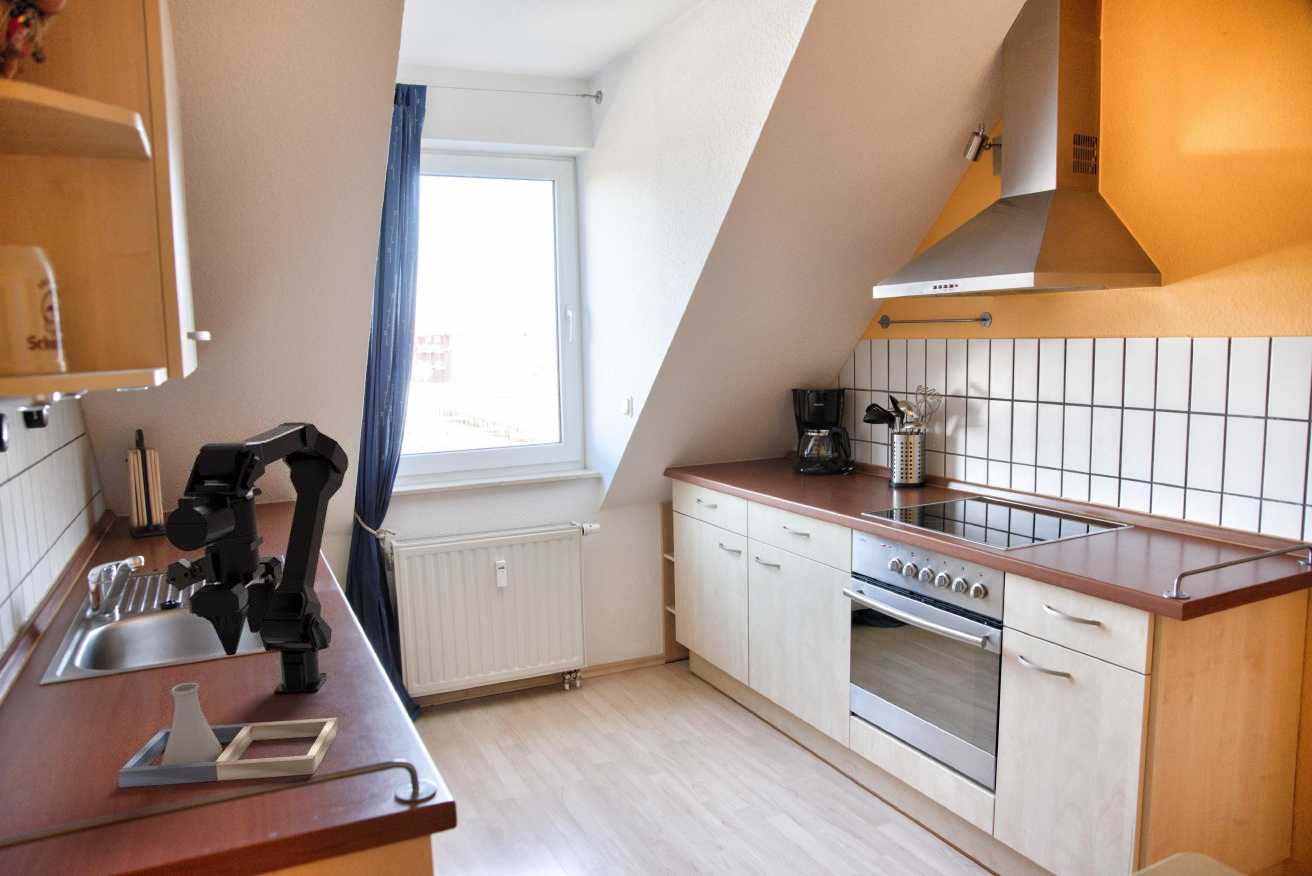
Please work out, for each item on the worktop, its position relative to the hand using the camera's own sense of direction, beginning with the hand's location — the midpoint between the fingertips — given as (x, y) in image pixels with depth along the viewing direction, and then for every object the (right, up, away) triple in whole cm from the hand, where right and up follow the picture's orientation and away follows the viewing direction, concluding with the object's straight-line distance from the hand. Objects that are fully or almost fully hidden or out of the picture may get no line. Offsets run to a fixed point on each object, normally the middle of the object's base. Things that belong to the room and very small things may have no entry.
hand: (243, 643), depth 124 cm
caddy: (+3, -13, -8) cm, 16 cm away
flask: (-3, -14, -9) cm, 16 cm away
